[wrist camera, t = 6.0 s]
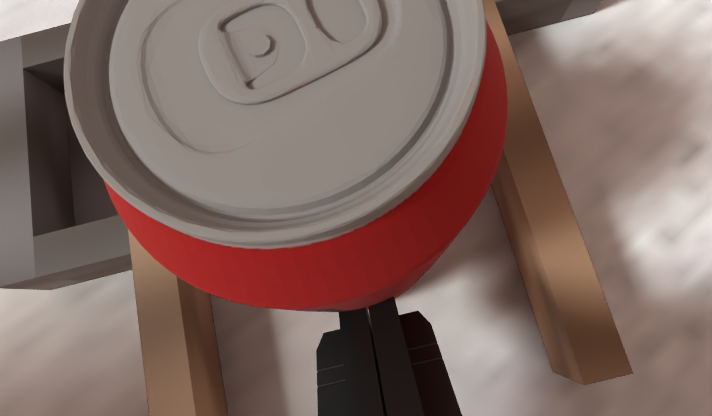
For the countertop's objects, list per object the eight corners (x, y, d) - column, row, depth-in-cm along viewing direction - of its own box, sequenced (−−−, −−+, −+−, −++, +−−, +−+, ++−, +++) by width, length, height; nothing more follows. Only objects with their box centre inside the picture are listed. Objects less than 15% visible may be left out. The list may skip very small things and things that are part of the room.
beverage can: (243, 190, 18) (-43, -50, 6) (388, 120, 18) (387, -242, 6) (310, 343, 16) (94, 427, 4) (468, 263, 16) (674, 134, 4)
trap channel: (730, 328, 15) (849, 338, 11) (63, 490, 16) (-45, 553, 12) (472, -265, 22) (490, -386, 18) (20, -142, 23) (-56, -234, 19)
